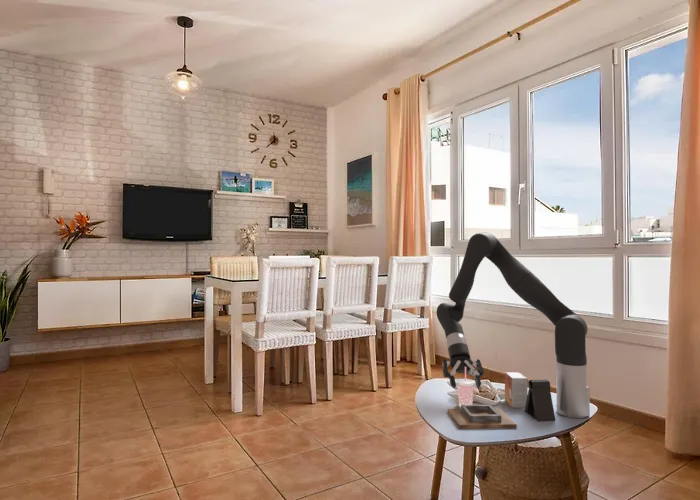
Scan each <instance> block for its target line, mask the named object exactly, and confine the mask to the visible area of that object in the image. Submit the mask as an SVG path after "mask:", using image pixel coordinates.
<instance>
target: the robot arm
mask: <svg viewBox="0 0 700 500" xmlns="http://www.w3.org/2000/svg"><path fill="white" fill-rule="evenodd" d="M485 258H486V259H488V260H489V261H490V262H491V263H492V264H493V265H494V266H495V267H497V269H498V270H499V272H500V273H501V275H502V278H503V279H504V280H505V282H506V284H507V285H508V287H510V289H511V290H512V291H513V292H514V293H515V294H516V295H517V296H518V297H519V298H520V299H521V300H522V301H524V302H525V303H527V304H528V305H530V306H531V307H532V308H534V309H536V310H538V311H539V312H540V313H542V314H543V315H544V316H545V317H546V318H547V319H548V320H549V321H550V322H551V323H552V324H553V325H554V326H555V328H554V349H555V351H554V352H555V358H556V359H555V360H556V361H555V362H556V365H555V366H556V376H555V377H556V379H555V380H556V405H555V406H556V412H557V414H559V415H561V416H565V417H568V418H573V419H581V418H582V419H584V418H586V417H590V415H591V413H590V411H591V410H590V408H591V405H590V402H591V401H590V394H591V393H590V387H589V386H587V385H588V384H587V382H588V379H587V377H588V372H587V370H588V369H587V368H588V367H587V366H588V365H587V364H588V362H587V361H588V360H587V358H588V357H587V352H586V350H587V349H586V336H587V334H588V330H589V329H588V325H587V322H586V321H585V320H584V319H583V318H582V317H581V316H579V314H577V313H576V312H574V311H573V310H572V309H570V308H569V306H567V305H566V304H564V303H563V302H561V300H560V299H558V298H557V296H556V295H555V294H554V293H553V292H552V290H550V288H548V286H547V285H546V284H544V283H543V282H542V281H541V279H540V278H539V277H537V276H536V275H535V274H534V273H533V272H532V271H531V270H529V269H528V267H526V266H525V265H524V264H523V263H522V262H521V261H519V260H518V259H517V258H516V257H515V255H512V254H511V252H510V251H509V250H508V249H506V247H505V246H504V244H503V243H501V241H500V240H499V238H498V237H496V236H495V235H494V234H492V233H490V232H479V233H477V232H476V233H475V234H473V235H472V236H470V238H469V240H468V242H467V246H466V250H465V253H464V256H463V260H462V262H461V266H460V268H459V271H458V274H457V276H456V278H455V280H454V282H453V285H452V286H451V288H450V291H449V293H448V298H449V300H451V301H452V302H454V303H455V304H450V303H446V302H442V303H440V304H438V306H437V308H436V313H435V314H436V316H437V320H438V322H439V324H440V326H441V328H442V329H443V331H444V335H445V339H446V349H447V352H448V357H449V360H447V359H443V361H442V363H441V365H442V375H443V377H444V378H448V379H449V383H450V386H451V387H452V389H456V388H457V381H456V378H455V375H456V374H457V373H458V374H462V373H463V374H465V367H466V374H467V373H468V374H469V375H470V376H472V377H473V378H474V384H475V387H476V389H479V388H480V387H481V385H482V381H481V378H483V375H484V374H485V371H484V368H483V366H482V363H481V360H480V359H479V358H477V359H476V360H472V358H471V355H470V350H469V346H468V342H467V339H466V336H465V333H464V330H463V326H462V324H461V323H460V322H461V320H462V319H463V317H464V313H465V312H464V311H465V306H466V301H467V299H468V297H469V295H470V293H471V291H472V289H473V286H474V283H475V278H476V273H477V270H478V268H479V266H480V265H481V263H482V261H483V260H484V259H485ZM449 366H450V367H451V368H452V370H450V372H449V370H448V367H449Z"/></svg>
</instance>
